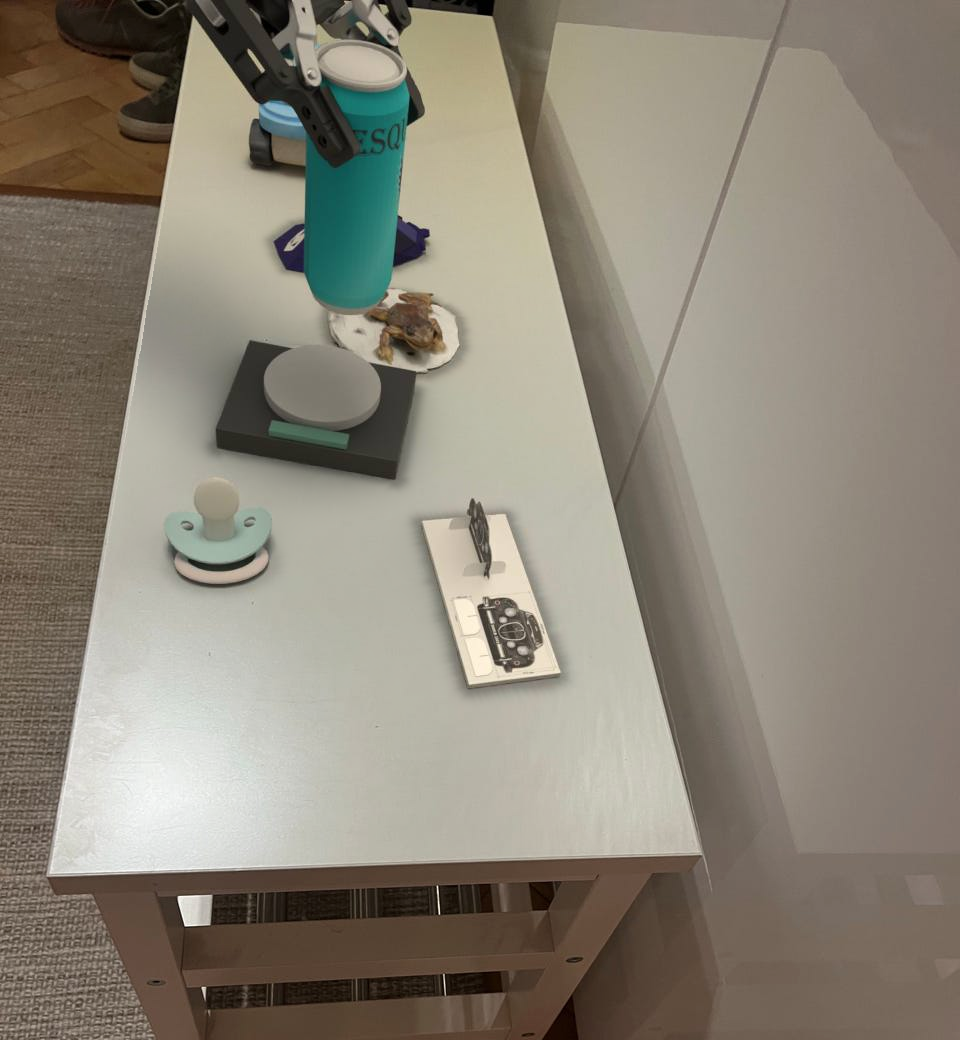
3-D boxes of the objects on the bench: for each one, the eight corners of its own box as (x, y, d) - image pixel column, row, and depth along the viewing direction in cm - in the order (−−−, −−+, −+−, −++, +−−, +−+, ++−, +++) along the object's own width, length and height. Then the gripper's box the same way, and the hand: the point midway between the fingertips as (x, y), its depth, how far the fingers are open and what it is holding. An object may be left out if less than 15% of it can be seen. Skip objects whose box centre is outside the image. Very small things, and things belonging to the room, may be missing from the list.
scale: (216, 447, 77) (214, 418, 74) (250, 359, 83) (248, 329, 81) (395, 479, 78) (398, 451, 75) (414, 389, 84) (417, 361, 82)
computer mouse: (264, 223, 95) (263, 183, 92) (410, 212, 100) (414, 174, 97) (290, 281, 90) (290, 242, 87) (442, 267, 95) (447, 229, 92)
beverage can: (404, 310, 67) (431, 80, 55) (328, 330, 64) (338, 93, 52) (363, 262, 69) (380, 31, 57) (288, 279, 67) (289, 41, 55)
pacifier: (277, 585, 70) (269, 520, 73) (276, 527, 65) (268, 460, 68) (169, 592, 68) (166, 525, 71) (159, 534, 63) (156, 465, 66)
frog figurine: (486, 359, 88) (493, 323, 85) (363, 387, 83) (365, 350, 80) (429, 284, 93) (434, 247, 90) (310, 306, 89) (311, 268, 86)
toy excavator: (360, 112, 110) (369, -66, 96) (331, 190, 100) (337, 4, 86) (283, 96, 110) (282, -85, 96) (246, 173, 100) (239, -17, 86)
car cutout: (421, 524, 75) (427, 482, 72) (504, 517, 77) (514, 476, 73) (467, 688, 67) (477, 650, 64) (559, 676, 69) (574, 638, 65)
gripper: (140, -214, 44) (346, 160, 51) (338, -253, 52) (491, 73, 59) (70, -113, 49) (265, 213, 56) (260, -163, 57) (409, 126, 64)
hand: (380, 139), depth 57 cm, fingers closed on beverage can, 5 cm apart
